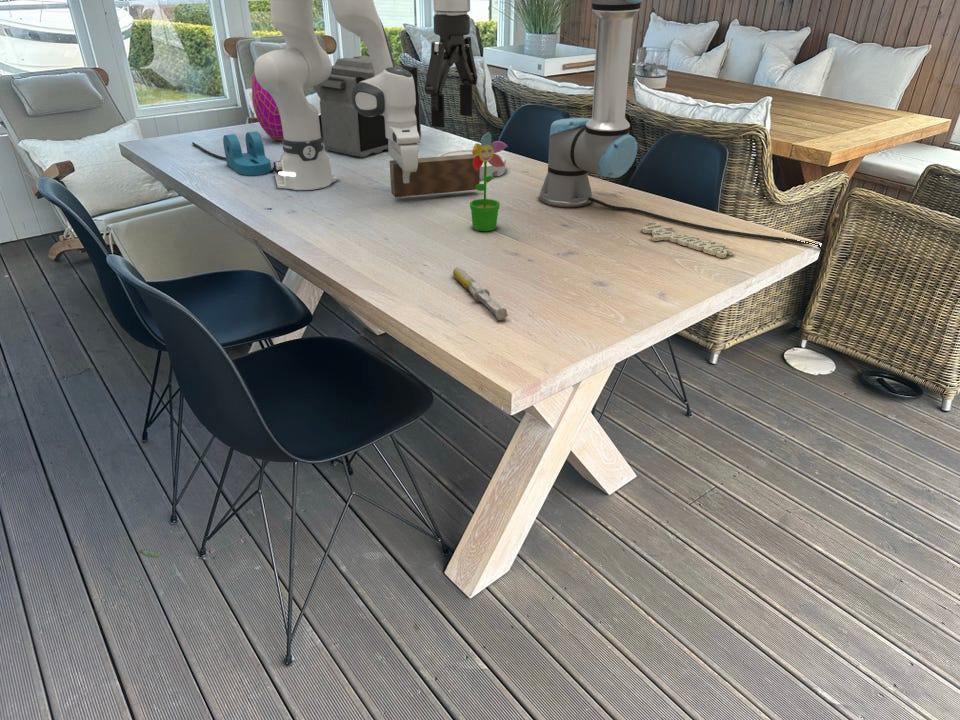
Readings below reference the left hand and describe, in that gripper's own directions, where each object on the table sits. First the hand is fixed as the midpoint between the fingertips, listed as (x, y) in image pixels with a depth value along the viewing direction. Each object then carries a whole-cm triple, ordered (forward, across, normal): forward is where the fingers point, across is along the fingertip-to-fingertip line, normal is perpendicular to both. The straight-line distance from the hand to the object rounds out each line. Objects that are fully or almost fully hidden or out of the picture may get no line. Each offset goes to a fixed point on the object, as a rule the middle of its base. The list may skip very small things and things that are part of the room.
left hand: (403, 179), depth 199 cm
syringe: (+6, +70, -2) cm, 70 cm away
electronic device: (+6, -68, +4) cm, 68 cm away
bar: (+4, 0, +10) cm, 11 cm away
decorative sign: (+6, +56, +58) cm, 81 cm away
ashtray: (+6, -24, +29) cm, 38 cm away
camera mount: (+6, -48, -40) cm, 63 cm away
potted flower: (+6, +30, +14) cm, 34 cm away
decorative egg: (+6, -87, -26) cm, 91 cm away
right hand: (-25, +44, +1) cm, 50 cm away
